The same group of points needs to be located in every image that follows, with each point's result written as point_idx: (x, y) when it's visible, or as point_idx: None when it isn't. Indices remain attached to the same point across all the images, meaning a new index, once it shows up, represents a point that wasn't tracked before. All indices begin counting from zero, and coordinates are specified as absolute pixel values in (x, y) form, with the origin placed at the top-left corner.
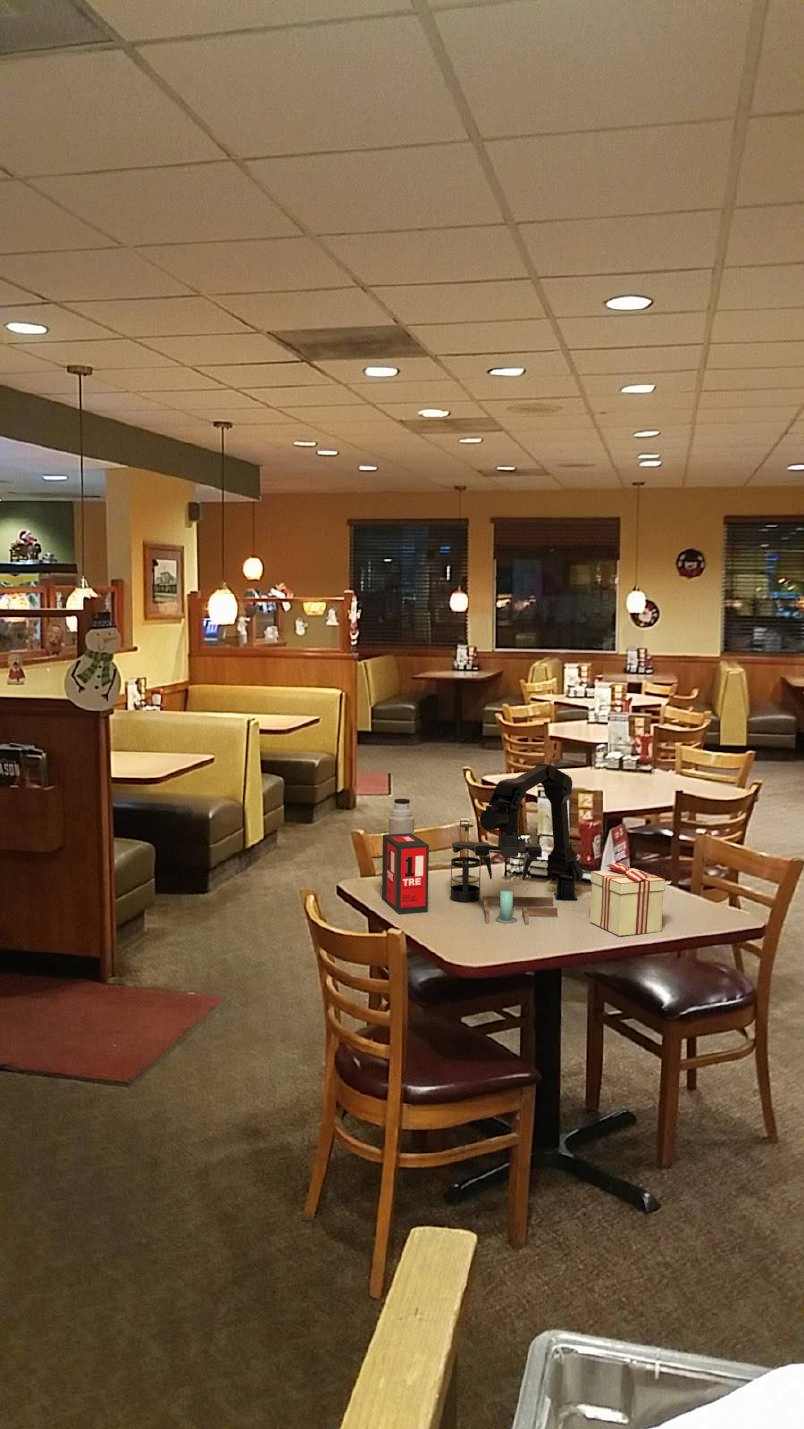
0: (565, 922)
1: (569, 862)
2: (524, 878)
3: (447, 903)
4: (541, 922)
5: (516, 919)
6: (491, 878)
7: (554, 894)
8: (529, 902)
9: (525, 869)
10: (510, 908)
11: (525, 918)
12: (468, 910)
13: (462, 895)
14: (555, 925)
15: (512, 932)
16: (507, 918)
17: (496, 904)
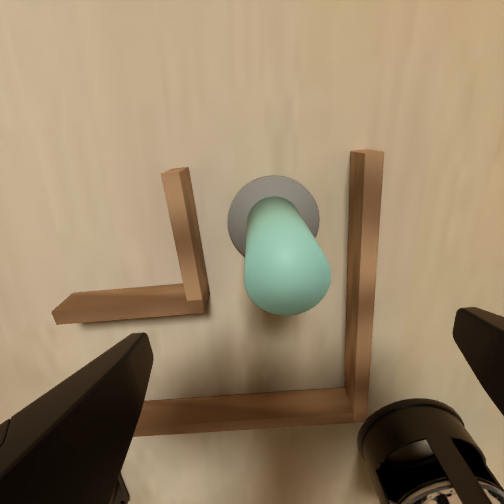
0: (24, 230)
1: None
2: (123, 339)
3: (481, 385)
4: (121, 214)
5: (228, 224)
6: (466, 310)
7: (125, 494)
8: (190, 408)
9: (46, 415)
10: (256, 218)
11: (180, 170)
12: (417, 322)
13: (440, 422)
14: (54, 179)
15: (239, 13)
16: (268, 198)
17: (307, 391)
